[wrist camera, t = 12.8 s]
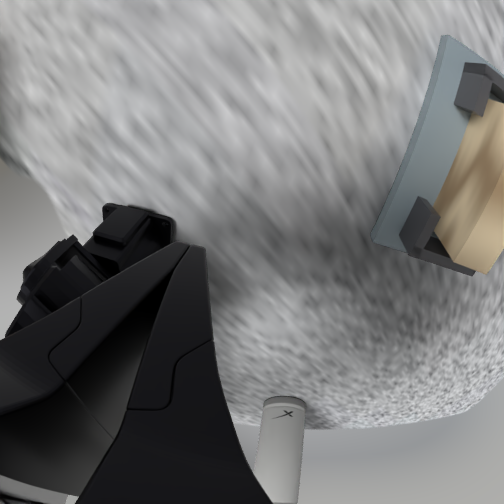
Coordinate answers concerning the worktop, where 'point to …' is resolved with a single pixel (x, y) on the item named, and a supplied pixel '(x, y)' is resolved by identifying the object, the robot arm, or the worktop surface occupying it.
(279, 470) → the travel mug
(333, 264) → the worktop surface
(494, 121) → the slat
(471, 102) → the board
